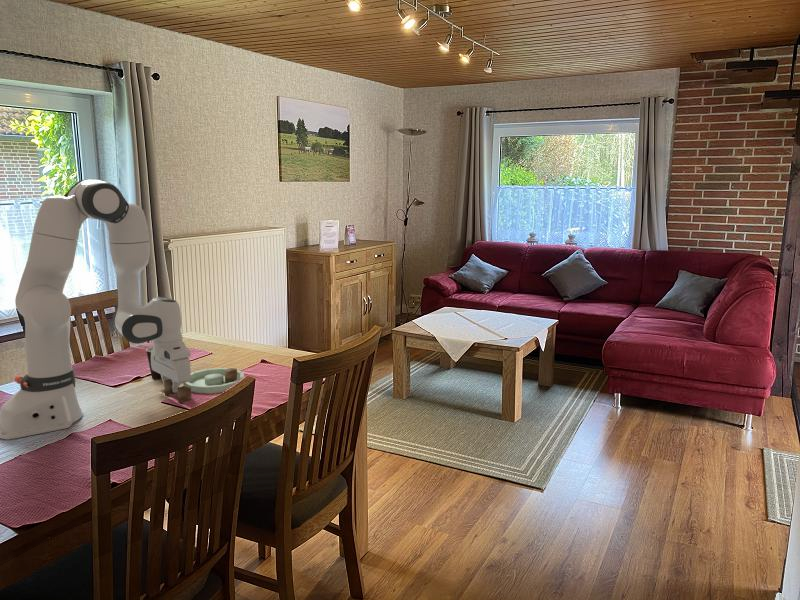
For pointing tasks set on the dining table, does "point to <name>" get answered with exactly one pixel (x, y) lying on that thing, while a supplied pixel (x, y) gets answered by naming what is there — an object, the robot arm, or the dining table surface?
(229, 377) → the bead
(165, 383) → the bead
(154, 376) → the coffee mug
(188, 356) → the robot arm
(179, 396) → the bead
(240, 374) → the tray
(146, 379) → the dining table surface
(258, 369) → the dining table surface
